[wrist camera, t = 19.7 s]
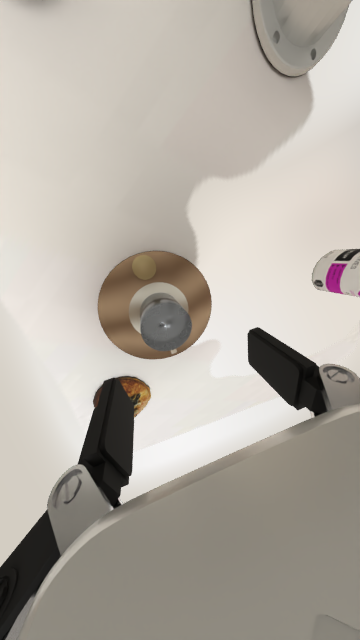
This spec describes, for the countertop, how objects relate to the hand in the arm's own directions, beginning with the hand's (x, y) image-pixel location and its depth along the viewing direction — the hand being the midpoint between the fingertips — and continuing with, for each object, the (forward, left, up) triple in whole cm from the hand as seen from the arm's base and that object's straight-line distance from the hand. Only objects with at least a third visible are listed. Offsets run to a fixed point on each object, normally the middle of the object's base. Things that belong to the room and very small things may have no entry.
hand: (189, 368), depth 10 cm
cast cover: (+1, 0, -14) cm, 14 cm away
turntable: (+1, 0, -16) cm, 16 cm away
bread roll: (+22, +3, -18) cm, 28 cm away
